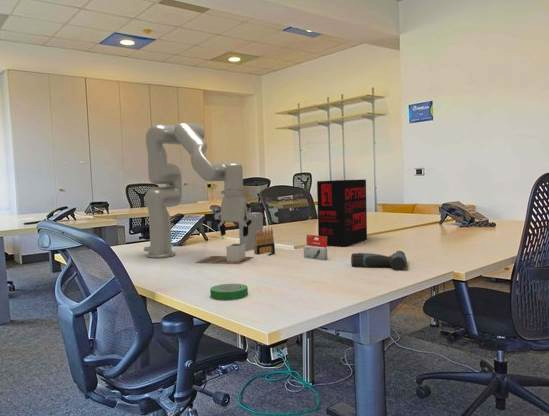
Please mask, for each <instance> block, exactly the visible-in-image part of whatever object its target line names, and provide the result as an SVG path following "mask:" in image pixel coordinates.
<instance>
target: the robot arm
mask: <svg viewBox="0 0 549 416" xmlns="http://www.w3.org/2000/svg"><path fill="white" fill-rule="evenodd" d="M145 134H146V135H145V146H146V150H147V151H146V152H147V171H148V172H147V173H148V180H149V182H150V183H151V184H154V185H165V186H158V187H156V186H155V187H152V188H149V189H148V190H147V191H146V193H145V202H146V203H145V204H146V207H147V212H148V213H147V214H148V221H149V222H148V223H149V224H148V225H149V244H150V245H149V246H144V248H143V251H144V252H148V253H147V255H146V256H147V258H153V259H157V258H160V259H161V258H169V257H173V256H175V255H176V251H173V247H172V229H171V226H172V225H171V216H170V212H169V210H168V209H167V208H172V207H177V206H179V205H180V203H181V201H182V198H183V186H182V185H183V183H182V182H183V180H182V177H183V176H182V172H181V170H180V168H179V166H178V165H177V164H175V163H168V153H167V150H166V148H165V146H164V144H165V145H181V146H182V147H183V149H185V151H186V152H187V153H188V154H189V155H190V163H191V166H192V169H193V170H194V172H196V174H197V175H198V176H199V177H200V178H201V179H203V180H204V181H206V182H223V183H224V184H223V186H224V189H223V190H222V191H221V192H220V194H221V195H223V197H222V198H221V204H220V211H219V212H217V213H215V214H213V216H214V220H215V221H216V223H217V224H218V226H219V229H220V231H219V232H220V236H222V237H223V236H225V235H226V233H227V230H226V223H239V222H242V223H243V225H244V227H243V236H244V237H245V236H247V234H248V226H249V225H250V224H251V223H252V221H253V219H254V217H255V216H254V215H252V214H250V213H251V212H249V211H248V209H246V208H247V204H246V203H247V202H246V198H245V197H244V175H243V174H244V173H243V171H244V169H243V165H242V164H241V163H238V162H237V163H235V162H234V163H233V162H231V163H226V162H225V163H224V162H210V161H209V160H208V159H207V158H206V157H205V156H204V155H205V153H206V152H207V149H208V143H207V142H206V141H205V140H204V138H205V130H204V128H203V127H202V125H200V124H198V123H193V122H192V123H190V122H179V123H177V124H175V125H171V124H164V123H163V124H162V123H157V124H154V125H151V126H150V127H149V128H148V129H147V131H146V133H145ZM247 216H248V217H250V219H249V221H248V222H247V220H246V219H247Z"/></svg>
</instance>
